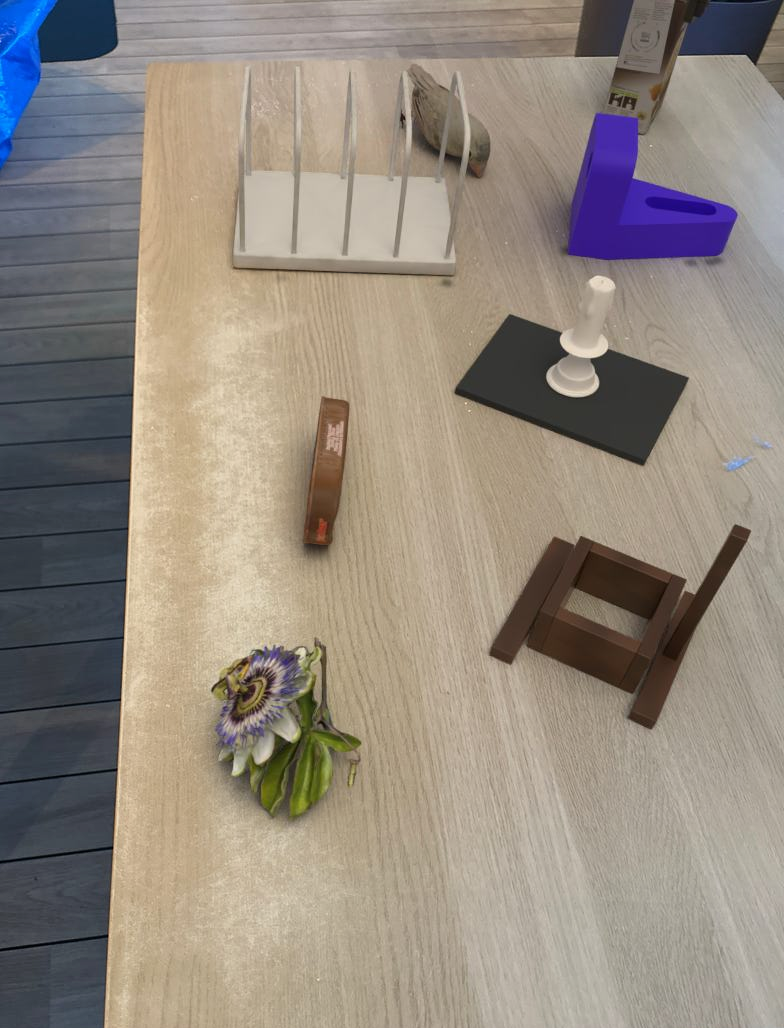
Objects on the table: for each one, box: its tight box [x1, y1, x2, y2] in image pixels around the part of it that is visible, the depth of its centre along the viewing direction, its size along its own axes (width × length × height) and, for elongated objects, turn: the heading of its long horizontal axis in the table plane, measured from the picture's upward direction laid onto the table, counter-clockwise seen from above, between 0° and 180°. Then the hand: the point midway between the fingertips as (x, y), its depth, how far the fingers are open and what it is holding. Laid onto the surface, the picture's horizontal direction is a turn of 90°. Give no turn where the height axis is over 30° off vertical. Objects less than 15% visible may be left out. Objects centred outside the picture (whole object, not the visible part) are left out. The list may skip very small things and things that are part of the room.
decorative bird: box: [400, 63, 491, 178], centre depth 125 cm, size 5×16×8 cm, turn 33°
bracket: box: [567, 112, 739, 261], centre depth 113 cm, size 18×11×12 cm, turn 79°
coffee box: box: [602, 0, 689, 135], centre depth 128 cm, size 9×6×16 cm
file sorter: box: [232, 65, 471, 276], centre depth 111 cm, size 25×17×16 cm
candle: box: [546, 275, 617, 397], centre depth 96 cm, size 5×5×12 cm
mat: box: [454, 313, 690, 466], centre depth 101 cm, size 20×14×1 cm
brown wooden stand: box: [488, 523, 752, 730], centre depth 77 cm, size 14×14×16 cm
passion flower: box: [210, 636, 362, 822], centre depth 73 cm, size 11×11×12 cm
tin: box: [302, 395, 350, 546], centre depth 88 cm, size 15×3×8 cm, turn 175°
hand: (641, 7), depth 85 cm, fingers open, 8 cm apart
